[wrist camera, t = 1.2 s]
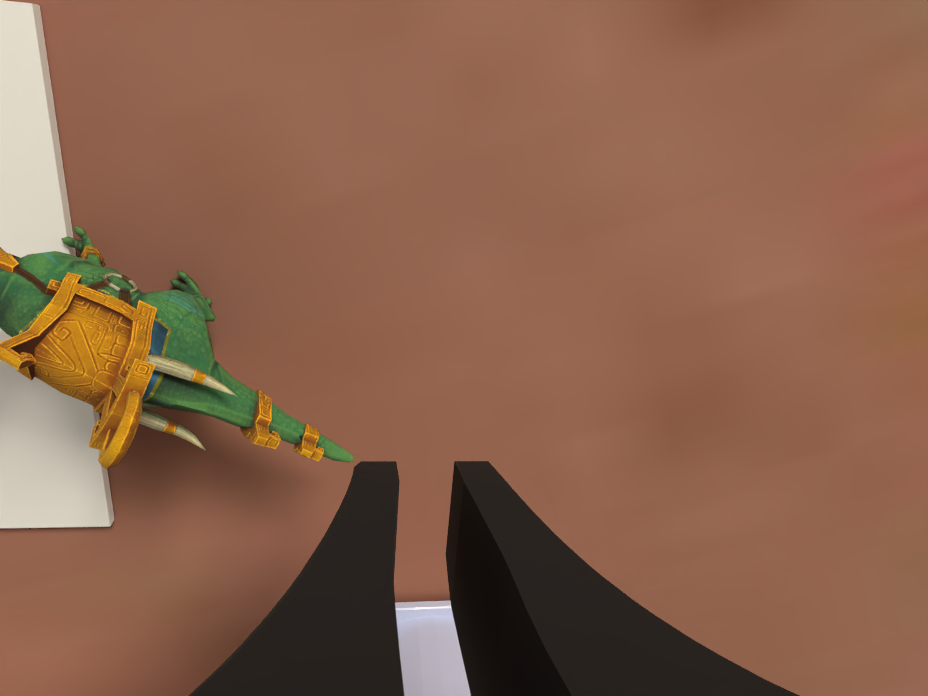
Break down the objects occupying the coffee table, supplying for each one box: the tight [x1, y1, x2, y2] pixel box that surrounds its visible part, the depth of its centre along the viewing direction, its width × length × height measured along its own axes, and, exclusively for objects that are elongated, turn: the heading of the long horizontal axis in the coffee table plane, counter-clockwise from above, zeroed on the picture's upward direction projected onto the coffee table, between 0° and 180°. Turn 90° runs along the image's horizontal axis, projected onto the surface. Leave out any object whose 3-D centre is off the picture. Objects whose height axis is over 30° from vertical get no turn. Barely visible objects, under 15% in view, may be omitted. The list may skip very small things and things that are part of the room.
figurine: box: [0, 226, 353, 469], centre depth 16 cm, size 3×12×8 cm, turn 57°
